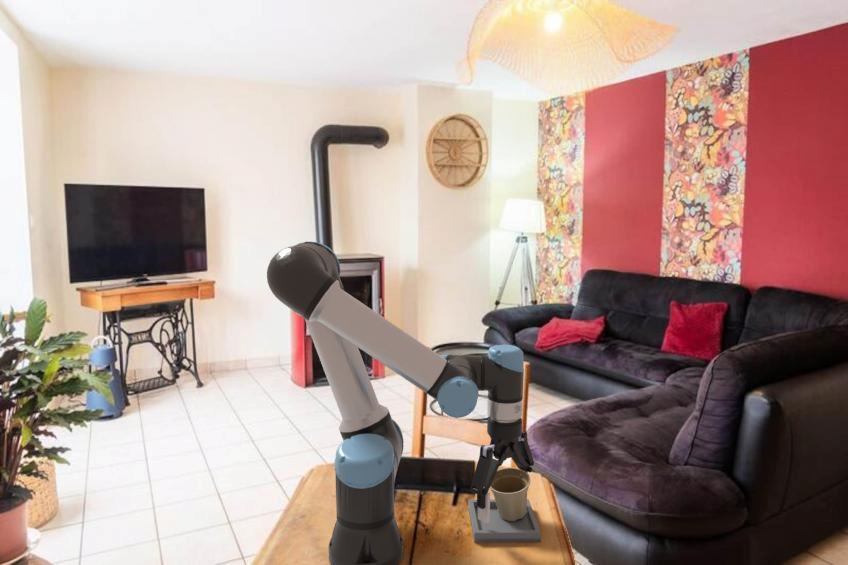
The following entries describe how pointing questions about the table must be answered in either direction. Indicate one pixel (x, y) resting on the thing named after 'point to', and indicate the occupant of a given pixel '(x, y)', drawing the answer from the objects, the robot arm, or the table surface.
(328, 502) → the table surface
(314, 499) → the table surface
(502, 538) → the plant tray
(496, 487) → the flower pot
